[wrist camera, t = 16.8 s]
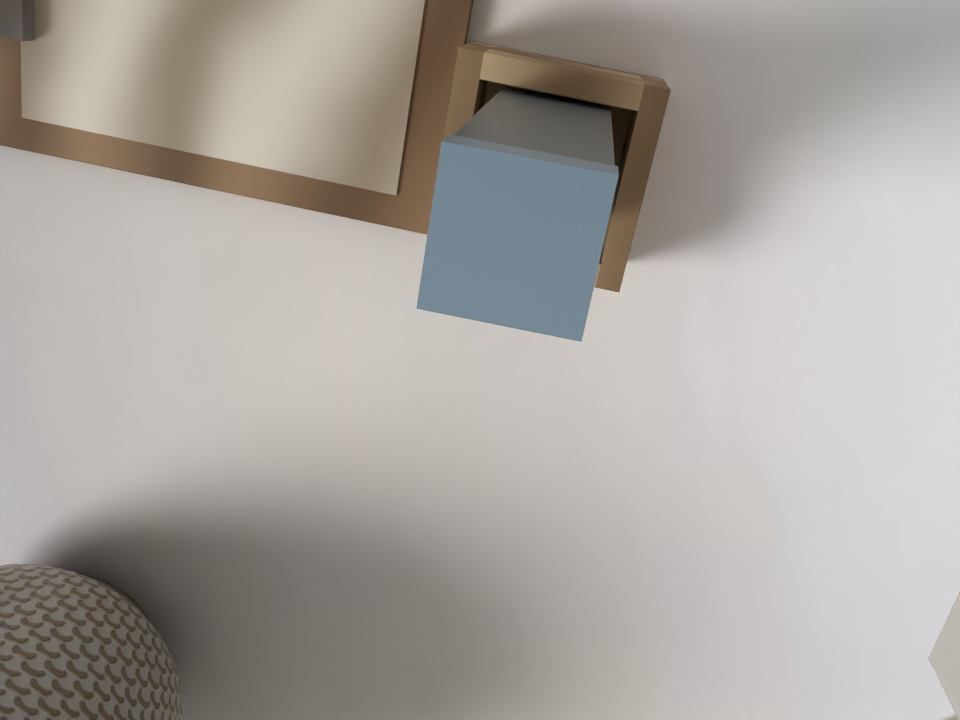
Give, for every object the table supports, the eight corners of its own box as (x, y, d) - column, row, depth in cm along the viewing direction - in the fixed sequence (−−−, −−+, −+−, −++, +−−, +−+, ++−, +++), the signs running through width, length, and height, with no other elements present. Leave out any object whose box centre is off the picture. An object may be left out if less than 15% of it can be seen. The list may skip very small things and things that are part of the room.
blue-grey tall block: (489, 184, 33) (416, 308, 20) (507, 80, 31) (441, 141, 18) (589, 203, 33) (581, 341, 20) (612, 99, 31) (618, 175, 18)
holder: (440, 227, 34) (425, 251, 31) (472, 41, 31) (458, 47, 28) (616, 264, 34) (618, 292, 31) (663, 79, 31) (670, 89, 28)
